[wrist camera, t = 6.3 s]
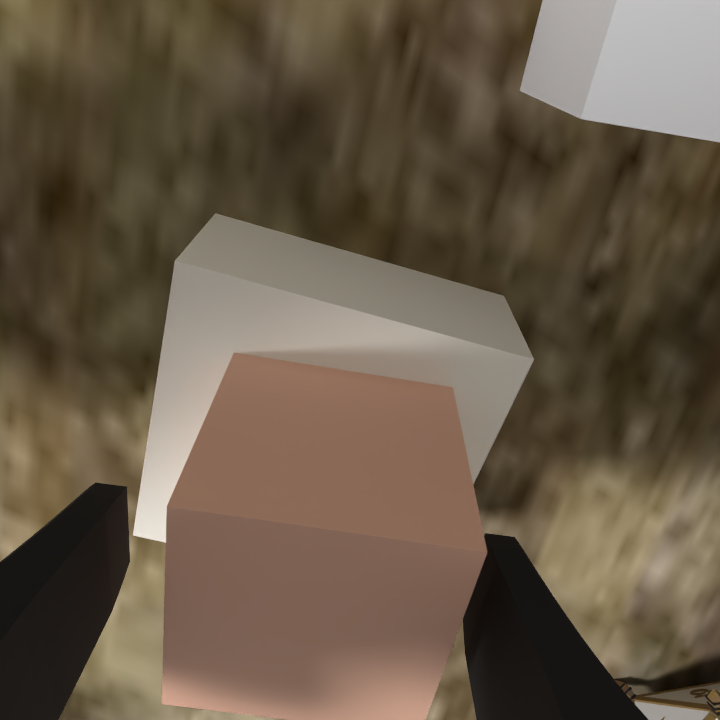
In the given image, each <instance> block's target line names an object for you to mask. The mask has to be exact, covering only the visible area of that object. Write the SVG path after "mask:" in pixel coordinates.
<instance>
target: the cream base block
mask: <svg viewBox="0 0 720 720" xmlns="http://www.w3.org/2000/svg"><path fill="white" fill-rule="evenodd" d="M233 353H240V354H246V355H252V356H259V357H265V358H271V359H278V360H284V361H290V362H296V363H303V364H309V365H315V366H322V367H328V368H334V369H340V370H347V371H353V372H359V373H365V374H372V375H378V376H384V377H391V378H397V379H403V380H409V381H416V382H422V383H428V384H434V385H441V386H447V387H453V390H454V395H455V400H456V404H457V409H458V414H459V419H460V423H461V428H462V433H463V438H464V443H465V447H466V452H467V457H468V462H469V466H470V471H471V476H472V481H473V484H474V482H475V480H476V478H477V476H478V474H479V472H480V470H481V468H482V466H483V464H484V462H485V460H486V457H487V455H488V453H489V451H490V449H491V447H492V445H493V443H494V441H495V439H496V437H497V435H498V433H499V431H500V429H501V427H502V425H503V422H504V420H505V418H506V416H507V414H508V412H509V410H510V408H511V406H512V404H513V402H514V400H515V398H516V396H517V394H518V392H519V390H520V387H521V385H522V383H523V381H524V379H525V377H526V375H527V373H528V371H529V369H530V367H531V365H532V363H533V361H534V358H533V356H532V354H531V352H530V350H529V348H528V345H527V343H526V341H525V339H524V337H523V335H522V333H521V331H520V329H519V326H518V324H517V322H516V320H515V318H514V316H513V314H512V312H511V310H510V307H509V305H508V303H507V301H506V299H505V297H504V296H503V295H499V294H496V293H492V292H489V291H485V290H482V289H478V288H475V287H471V286H468V285H464V284H461V283H457V282H454V281H450V280H447V279H443V278H440V277H436V276H433V275H429V274H426V273H422V272H419V271H415V270H412V269H408V268H405V267H401V266H398V265H394V264H391V263H387V262H384V261H380V260H377V259H373V258H370V257H366V256H363V255H359V254H356V253H352V252H349V251H346V250H342V249H339V248H335V247H332V246H328V245H325V244H321V243H318V242H314V241H311V240H307V239H304V238H300V237H297V236H293V235H290V234H286V233H283V232H279V231H276V230H272V229H269V228H265V227H262V226H258V225H255V224H251V223H248V222H244V221H241V220H237V219H234V218H230V217H227V216H223V215H220V214H216V213H215V214H214V216H213V217H212V218H211V219H210V220H209V221H208V223H207V224H206V225H205V226H204V227H203V228H202V230H201V231H200V232H199V233H198V234H197V235H196V237H195V238H194V239H193V240H192V241H191V242H190V244H189V245H188V246H187V247H186V248H185V249H184V251H183V252H182V253H181V254H180V255H179V256H178V258H177V259H176V260H175V263H174V270H173V276H172V283H171V290H170V296H169V303H168V309H167V316H166V322H165V329H164V335H163V342H162V349H161V355H160V362H159V368H158V375H157V381H156V388H155V394H154V401H153V408H152V414H151V421H150V427H149V434H148V440H147V447H146V453H145V460H144V466H143V473H142V480H141V486H140V493H139V499H138V506H137V512H136V519H135V525H134V532H133V535H134V536H138V537H143V538H147V539H152V540H156V541H161V542H165V543H166V515H167V505H168V502H169V500H170V498H171V495H172V493H173V491H174V488H175V486H176V484H177V482H178V479H179V477H180V475H181V472H182V470H183V468H184V466H185V463H186V461H187V459H188V456H189V454H190V452H191V450H192V447H193V445H194V443H195V440H196V438H197V436H198V434H199V431H200V429H201V427H202V424H203V422H204V420H205V417H206V415H207V413H208V411H209V408H210V406H211V404H212V401H213V399H214V397H215V395H216V392H217V390H218V388H219V385H220V383H221V381H222V379H223V376H224V374H225V372H226V369H227V367H228V365H229V363H230V360H231V358H232V356H233Z"/></svg>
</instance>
